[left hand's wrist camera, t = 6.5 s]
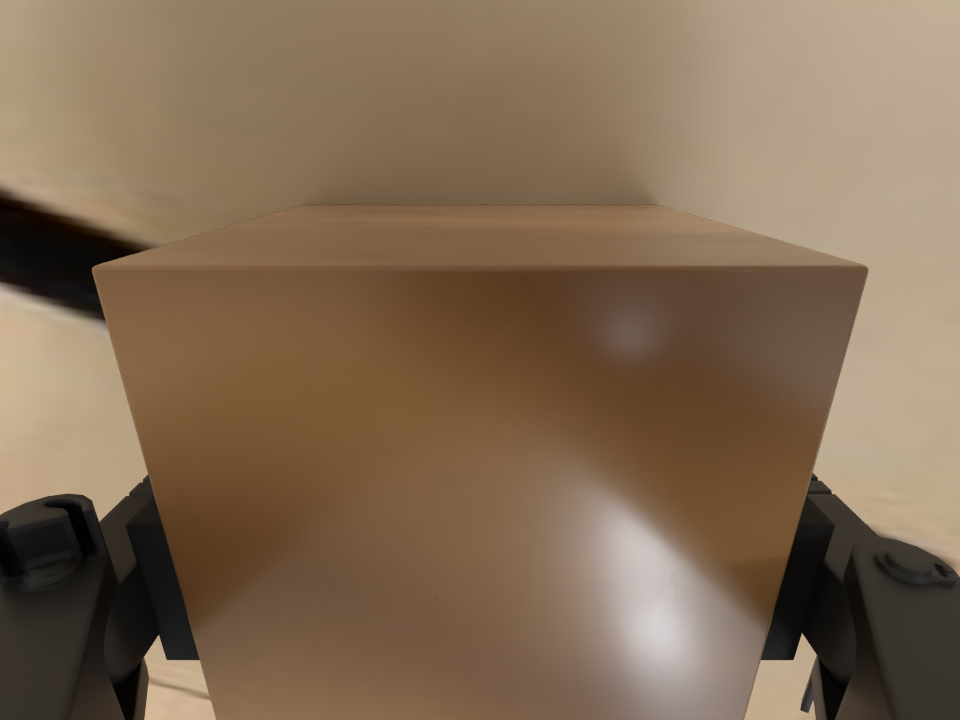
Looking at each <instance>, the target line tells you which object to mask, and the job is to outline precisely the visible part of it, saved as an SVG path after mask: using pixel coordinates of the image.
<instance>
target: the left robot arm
mask: <svg viewBox="0 0 960 720" xmlns="http://www.w3.org/2000/svg"><path fill="white" fill-rule="evenodd" d="M802 633H803V635H804V636H805V638H806V639H807V641H808V642H809V644H810V645H811V647H812V648H813V650H814V651H815V653H816V654H817V656H816V659H815V662H814V665H813V668H812V671H811V674H810V677H809V680H808V683H807V686H806V689H805V692H804V695H803V698H802V704H801V709H800V710H801V711H804V712H807V713H808V712H809V709H810V706H811V704H812V701H814V706H815V715H816V720H960V577H959V576H958V575H957V573H956V572H955V571H954V570H953V569H952V568H951V567H949V566H948V565H947V564H945V563H944V562H943V561H941V560H940V559H939V558H938V557H936V556H934V555H932V554H930V553H928V552H926V551H924V550H922V549H920V548H918V547H916V546H913V545H910V544H907V543H904V542H901V541H898V540H894V539H888V538H881V537H879V536H878V535H877V534H876V533H875V532H873V531H872V530H871V529H870V528H869V527H868V526H867V525H866V524H865V523H864V522H863V521H862V520H861V519H860V518H859V517H858V516H857V515H856V514H855V513H854V512H853V511H852V510H851V509H850V508H849V507H848V506H847V505H846V504H844V503H843V502H842V501H841V500H840V499H839V498H838V497H837V496H836V495H835V494H832V493H831V490H830V489H829V488H828V487H827V486H826V485H825V484H824V483H823V482H822V481H818V477H816V476H815V475H814V474H813V473H812V476H811V480H810V483H809V487H808V491H807V494H806V498H805V501H804V505H803V509H802V512H801V516H800V519H799V523H798V527H797V530H796V534H795V537H794V541H793V545H792V548H791V552H790V556H789V559H788V563H787V566H786V570H785V574H784V577H783V581H782V584H781V588H780V592H779V595H778V599H777V602H776V606H775V610H774V613H773V617H772V620H771V624H770V628H769V631H768V635H767V638H766V642H765V646H764V649H763V653H762V656H761V660H794V657H795V653H796V650H797V647H798V644H799V640H800V637H801V634H802ZM158 635H159V636H160V639H161V642H162V646H163V649H164V652H165V655H166V659H167V660H200V659H199V655H198V652H197V648H196V644H195V641H194V637H193V634H192V630H191V626H190V623H189V619H188V615H187V612H186V608H185V605H184V601H183V597H182V594H181V590H180V587H179V583H178V579H177V576H176V572H175V569H174V565H173V561H172V558H171V554H170V551H169V547H168V543H167V540H166V536H165V533H164V529H163V525H162V522H161V518H160V514H159V511H158V507H157V504H156V500H155V496H154V493H153V489H152V486H151V482H150V478H149V475H147V476H146V477H145V478H144V479H143V483H139V484H138V485H137V486H136V487H135V488H134V489H133V490H132V491H131V492H130V494H129V496H126V497H125V498H124V499H123V500H122V501H121V502H119V503H118V504H117V505H116V506H115V507H114V508H113V509H112V510H111V511H110V512H109V513H108V514H107V515H106V516H105V517H104V518H103V519H102V520H101V521H100V522H99V521H98V518H97V515H96V512H95V509H94V506H93V503H92V500H90V499H89V498H87V497H85V496H84V495H76V494H62V495H55V496H48V497H44V498H41V499H37V500H34V501H31V502H27V503H25V504H22V505H20V506H18V507H16V508H13V509H11V510H9V511H7V512H5V513H3V514H1V515H0V720H144V717H145V708H146V699H147V689H148V680H149V676H148V670H147V665H146V662H145V659H144V656H145V654H146V653H147V651H148V650H149V648H150V647H151V645H152V644H153V642H154V641H155V639H156V638H157V636H158Z"/></svg>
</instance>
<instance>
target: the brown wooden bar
mask: <svg viewBox="0 0 960 720" xmlns="http://www.w3.org/2000/svg"><path fill="white" fill-rule="evenodd" d="M92 273H93V276H94V280H95V284H96V287H97V291H98V294H99V298H100V302H101V305H102V309H103V312H104V316H105V320H106V323H107V327H108V330H109V334H110V338H111V341H112V345H113V348H114V352H115V356H116V359H117V363H118V367H119V370H120V374H121V377H122V381H123V385H124V388H125V392H126V395H127V399H128V403H129V406H130V410H131V413H132V417H133V421H134V424H135V428H136V431H137V435H138V439H139V442H140V446H141V450H142V453H143V457H144V460H145V464H146V468H147V471H148V475H149V478H150V482H151V486H152V489H153V493H154V496H155V500H156V504H157V507H158V511H159V514H160V518H161V522H162V525H163V529H164V533H165V536H166V540H167V543H168V547H169V551H170V554H171V558H172V561H173V565H174V569H175V572H176V576H177V579H178V583H179V587H180V590H181V594H182V597H183V601H184V605H185V608H186V612H187V615H188V619H189V623H190V626H191V630H192V634H193V637H194V641H195V644H196V648H197V652H198V655H199V659H200V662H201V666H202V670H203V673H204V677H205V680H206V684H207V688H208V691H209V695H210V698H211V702H212V706H213V709H214V713H215V717H216V720H744V718H745V714H746V710H747V707H748V703H749V700H750V696H751V692H752V689H753V685H754V682H755V678H756V674H757V671H758V667H759V664H760V660H761V656H762V653H763V649H764V646H765V642H766V638H767V635H768V631H769V628H770V624H771V620H772V617H773V613H774V610H775V606H776V602H777V599H778V595H779V592H780V588H781V584H782V581H783V577H784V574H785V570H786V566H787V563H788V559H789V556H790V552H791V548H792V545H793V541H794V537H795V534H796V530H797V527H798V523H799V519H800V516H801V512H802V509H803V505H804V501H805V498H806V494H807V491H808V487H809V483H810V480H811V476H812V473H813V469H814V465H815V462H816V458H817V455H818V451H819V447H820V444H821V440H822V437H823V433H824V429H825V426H826V422H827V419H828V415H829V411H830V408H831V404H832V401H833V397H834V393H835V390H836V386H837V383H838V379H839V375H840V372H841V368H842V365H843V361H844V357H845V354H846V350H847V346H848V343H849V339H850V336H851V332H852V328H853V325H854V321H855V318H856V314H857V310H858V307H859V303H860V300H861V296H862V292H863V289H864V285H865V282H866V278H867V274H868V268H867V267H866V266H864V265H861V264H858V263H855V262H851V261H848V260H844V259H841V258H838V257H834V256H831V255H827V254H824V253H821V252H817V251H814V250H810V249H807V248H804V247H800V246H797V245H793V244H790V243H787V242H783V241H780V240H776V239H773V238H770V237H766V236H763V235H759V234H756V233H753V232H749V231H746V230H742V229H739V228H736V227H732V226H729V225H725V224H722V223H719V222H715V221H712V220H708V219H705V218H702V217H698V216H695V215H691V214H688V213H685V212H681V211H678V210H674V209H671V208H668V207H664V206H661V205H299V206H296V207H293V208H289V209H286V210H282V211H279V212H276V213H272V214H269V215H265V216H262V217H259V218H255V219H252V220H248V221H245V222H242V223H238V224H235V225H231V226H228V227H225V228H221V229H218V230H214V231H211V232H208V233H204V234H201V235H198V236H194V237H191V238H187V239H184V240H181V241H177V242H174V243H170V244H167V245H164V246H160V247H157V248H153V249H150V250H147V251H143V252H140V253H136V254H133V255H130V256H126V257H123V258H119V259H116V260H113V261H109V262H106V263H102V264H99V265H96V266H94V267H93V268H92Z"/></svg>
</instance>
